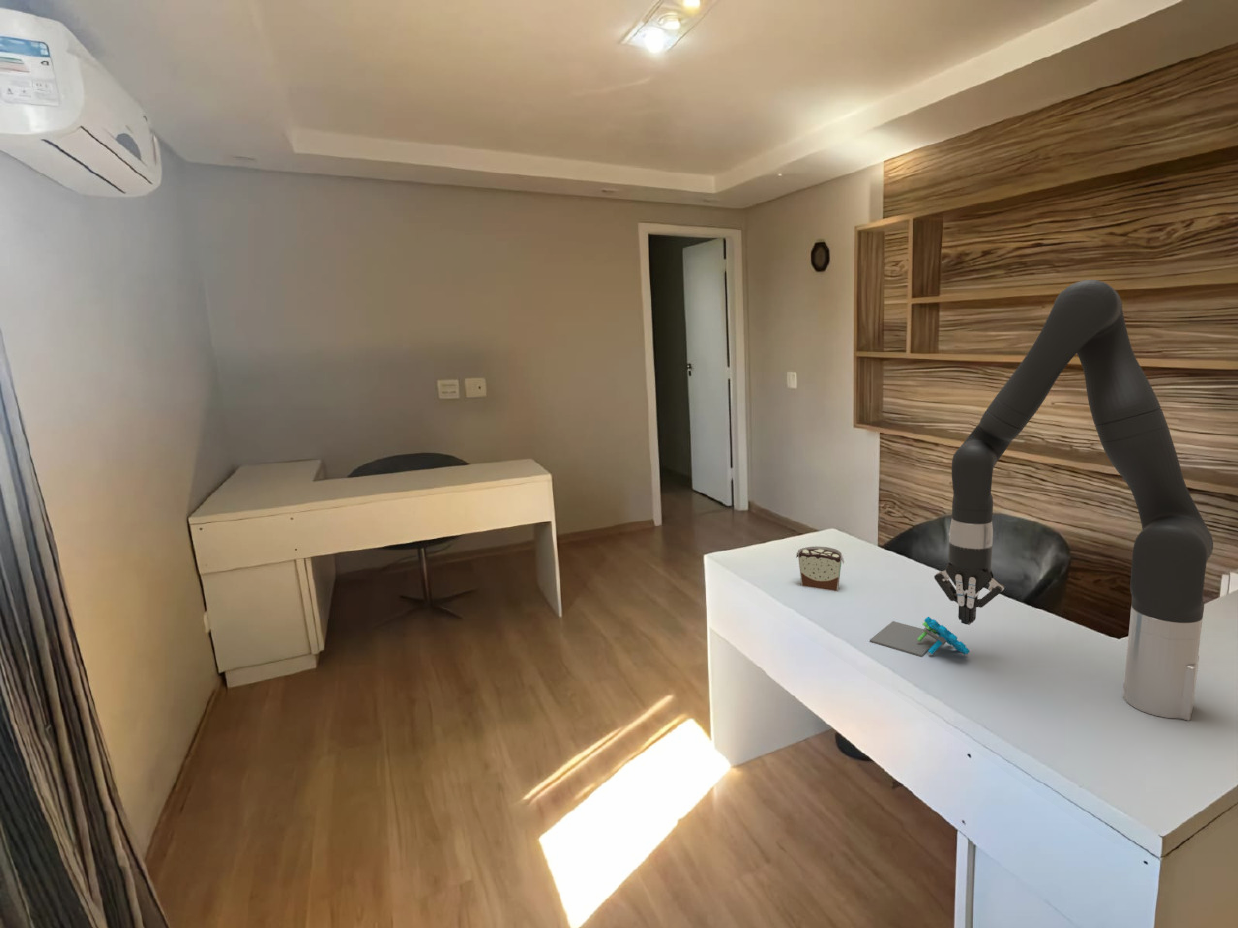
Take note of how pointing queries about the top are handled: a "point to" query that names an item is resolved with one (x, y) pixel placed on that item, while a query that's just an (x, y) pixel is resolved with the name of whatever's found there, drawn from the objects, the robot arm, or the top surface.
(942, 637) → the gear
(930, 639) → the mat
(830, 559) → the food container
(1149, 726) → the top surface
